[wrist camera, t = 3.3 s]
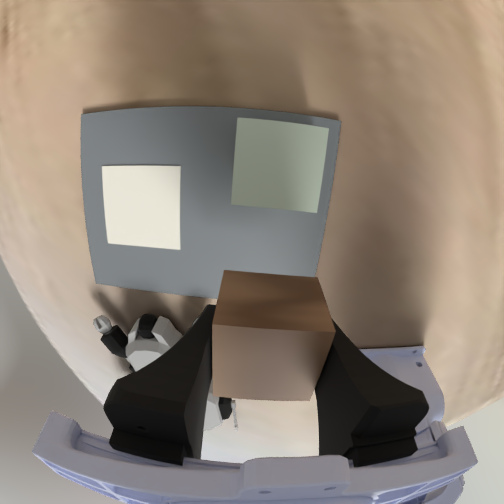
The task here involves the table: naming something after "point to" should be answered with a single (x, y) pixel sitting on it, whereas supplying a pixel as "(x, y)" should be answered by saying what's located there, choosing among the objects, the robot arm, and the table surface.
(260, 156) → the sage block
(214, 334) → the walnut block
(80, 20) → the table surface
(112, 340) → the robot toy
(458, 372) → the table surface
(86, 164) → the board
